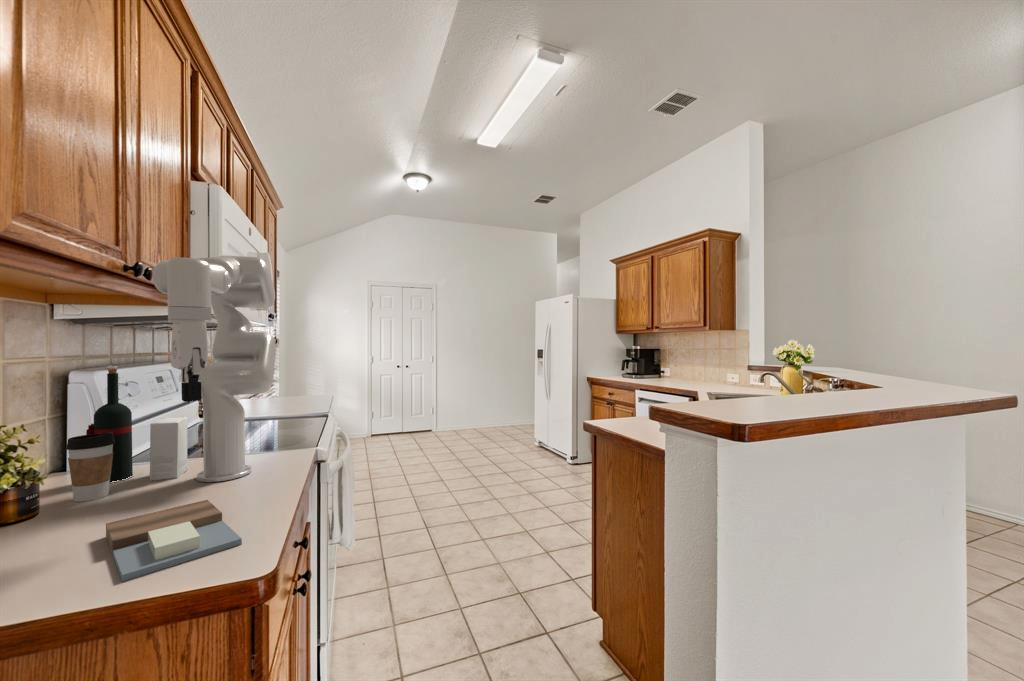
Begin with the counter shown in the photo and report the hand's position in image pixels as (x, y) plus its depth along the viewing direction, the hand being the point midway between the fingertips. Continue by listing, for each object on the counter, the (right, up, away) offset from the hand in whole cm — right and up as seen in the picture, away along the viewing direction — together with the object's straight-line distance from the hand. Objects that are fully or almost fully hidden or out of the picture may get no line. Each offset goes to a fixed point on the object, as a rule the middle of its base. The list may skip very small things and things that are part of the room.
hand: (191, 400), depth 93 cm
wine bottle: (-39, -25, +22) cm, 52 cm away
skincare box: (-25, -25, +26) cm, 44 cm away
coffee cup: (-31, -25, +9) cm, 41 cm away
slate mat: (+11, -24, -18) cm, 32 cm away
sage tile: (+10, -23, -18) cm, 31 cm away
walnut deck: (+2, -24, -10) cm, 26 cm away
